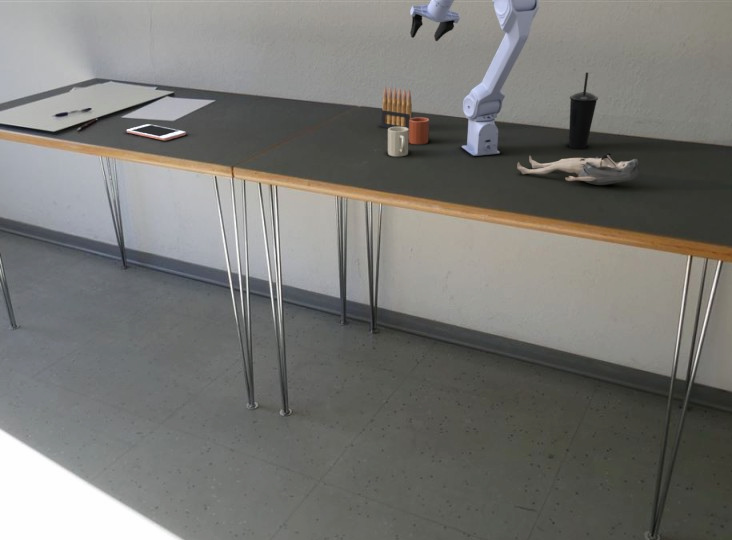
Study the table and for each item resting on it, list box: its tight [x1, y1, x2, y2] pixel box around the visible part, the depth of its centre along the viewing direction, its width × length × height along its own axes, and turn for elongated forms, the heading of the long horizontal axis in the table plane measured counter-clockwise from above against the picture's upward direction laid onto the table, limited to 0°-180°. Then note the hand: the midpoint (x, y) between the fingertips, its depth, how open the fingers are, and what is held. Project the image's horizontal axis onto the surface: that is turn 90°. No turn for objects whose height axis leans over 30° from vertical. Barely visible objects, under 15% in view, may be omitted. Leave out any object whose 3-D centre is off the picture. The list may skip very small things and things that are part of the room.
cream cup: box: [387, 127, 409, 157], centre depth 224 cm, size 8×6×7 cm
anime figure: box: [516, 152, 640, 186], centre depth 202 cm, size 10×7×30 cm
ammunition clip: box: [380, 86, 413, 129], centre depth 248 cm, size 11×2×12 cm, turn 53°
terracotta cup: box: [408, 116, 430, 145], centre depth 236 cm, size 8×6×6 cm
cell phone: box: [126, 123, 187, 142], centre depth 250 cm, size 9×18×1 cm, turn 53°
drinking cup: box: [568, 72, 599, 149], centre depth 225 cm, size 8×8×20 cm
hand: (423, 36), depth 235 cm, fingers open, 7 cm apart
